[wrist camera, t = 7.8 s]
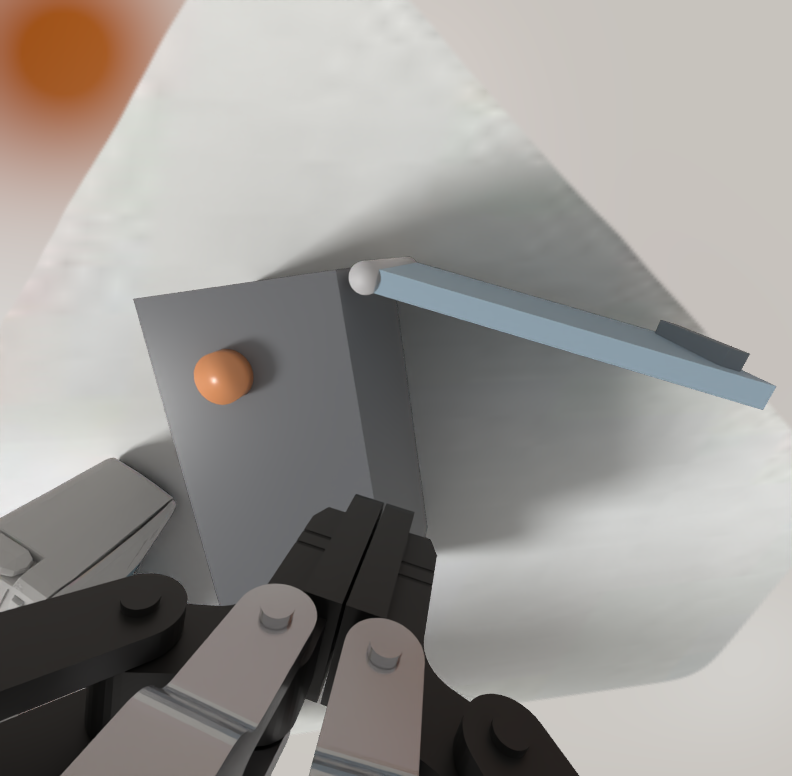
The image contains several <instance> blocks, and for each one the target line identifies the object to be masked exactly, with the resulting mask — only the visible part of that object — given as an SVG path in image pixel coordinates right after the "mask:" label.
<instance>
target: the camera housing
mask: <svg viewBox="0 0 792 776" xmlns="http://www.w3.org/2000/svg"><path fill="white" fill-rule="evenodd" d="M350 270H351V268H345V269H337V270H330V271H323V272H316V273H310V274H303V275H296V276H289V277H282V278H275V279H268V280H261V281H254V282H247V283H240V284H233V285H226V286H219V287H212V288H205V289H199V290H192V291H185V292H178V293H171V294H164V295H157V296H150V297H143V298H136V299H133V300H134V303H135V307H136V310H137V314H138V317H139V321H140V325H141V328H142V332H143V335H144V339H145V342H146V346H147V349H148V353H149V357H150V360H151V364H152V367H153V371H154V374H155V378H156V381H157V385H158V388H159V392H160V396H161V399H162V403H163V406H164V410H165V413H166V417H167V420H168V424H169V428H170V431H171V435H172V438H173V442H174V445H175V449H176V452H177V456H178V459H179V463H180V467H181V470H182V474H183V477H184V481H185V484H186V488H187V491H188V495H189V499H190V502H191V506H192V509H193V513H194V516H195V520H196V523H197V527H198V531H199V534H200V538H201V541H202V545H203V548H204V552H205V555H206V559H207V562H208V566H209V570H210V573H211V577H212V580H213V584H214V587H215V591H216V594H217V598H218V602H219V605H220V606H227V605H234V604H237V602H238V601H239V600H240V599H241V598H242V597H243V596H244V595H245V594H246V593H247V592H249V591H250V590H252V589H254V588H256V587H259V586H262V585H267V584H268V583H269V581H270V580H271V578H272V577H273V575H274V574H275V572H276V571H277V569H278V568H279V566H280V565H281V563H282V562H283V560H284V559H285V557H286V556H287V554H288V553H289V551H290V550H291V548H292V547H293V545H294V544H295V543H296V542H297V539H298V538H299V536H300V535H301V533H302V532H303V531H304V529H305V527H306V526H307V524H308V523H309V521H310V520H311V518H312V517H313V515H315V514H317V513H319V512H321V511H322V510H324V509H326V508H328V507H331V508H334V509H337V510H340V511H343V512H346V511H347V509H348V507H349V505H350V503H351V501H352V500H353V498H354V496H355V494H359V495H362V496H365V497H368V498H371V499H374V500H378V501H381V502H384V507H383V510H384V508H385V506H386V503H388V504H391V505H394V506H397V507H400V508H403V509H407V510H410V511H413V512H415V513H414V517H413V521H412V524H411V528H410V532H409V533H412V534H415V535H418V536H421V537H425V535H426V531H427V521H426V514H425V507H424V499H423V492H422V485H421V477H420V470H419V463H418V455H417V448H416V441H415V433H414V426H413V419H412V411H411V404H410V397H409V389H408V382H407V375H406V367H405V360H404V353H403V345H402V338H401V331H400V323H399V316H398V309H397V301H396V300H395V299H391V298H388V297H385V296H381V295H378V294H375V293H372V294H369V295H361V294H359V293H357V292H355V291H354V290H353V289H352V287H351V285H350V283H349V272H350ZM382 513H383V511H382ZM381 516H382V515H381Z"/></svg>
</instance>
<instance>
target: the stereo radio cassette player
mask: <svg viewBox="0 0 792 776" xmlns="http://www.w3.org/2000/svg"><path fill="white" fill-rule="evenodd" d="M175 507H176V503H175V501H174V500H173V497H172V496H170V495H169V494H168V493H166V492H165V491H164V490H162V489H161V488H160V487H158V486H157V485H156V484H155V483H153V482H152V481H150V480H149V479H147V478H146V477H144V476H143V475H142V474H140V473H139V472H137V471H135V470H134V469H132V468H130V467H129V466H127V465H126V464H124V463H123V462H121V461H120V460H118V459H116V458H110V459H107V460H105V461H103V462H101V463H99V464H97V465H95V466H94V467H92V468H90V469H88V470H86V471H85V472H83V473H81V474H79V475H77V476H76V477H74V478H72V479H70V480H68V481H67V482H65V483H63V484H61V485H59V486H58V487H56V488H54V489H52V490H51V491H49V492H47V493H45V494H43V495H41V496H40V497H38V498H36V499H34V500H32V501H30V502H29V503H27V504H25V505H23V506H21V507H20V508H18V509H16V510H14V511H12V512H10V513H9V514H7V515H5V516H3V517H1V518H0V612H2V611H6V610H10V609H13V608H17V607H20V606H24V605H28V604H31V603H35V602H38V601H42V600H46V599H49V598H53V597H56V596H60V595H64V594H67V593H71V592H75V591H78V590H82V589H85V588H89V587H93V586H96V585H100V584H103V583H107V582H111V581H114V580H118V579H121V578H125V577H129V576H132V575H133V573H134V572H135V570H136V569H137V567H138V566H139V564H140V562H141V561H142V559H143V558H144V556H145V555H146V553H147V552H148V550H149V549H150V547H151V546H152V544H153V543H154V541H155V540H156V538H157V537H158V535H159V534H160V532H161V531H162V529H163V528H164V526H165V525H166V523H167V521H168V520H169V518H170V517H171V515H172V513H173V512H174V509H175ZM17 715H19V714H17ZM17 715H15V716H12V717H10V718H7V719H5V720H2V721H0V723H1V722H3V721H6V720H8V719H11V718H13V717H16V716H17Z"/></svg>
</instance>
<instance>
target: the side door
mask: <svg viewBox="0 0 792 776" xmlns="http://www.w3.org/2000/svg"><path fill="white" fill-rule="evenodd" d="M349 283H350V285H351V287H352V289H353V290H354V291H355V292H357V293H359V294H361V295H369V294H372V293H375V294H378V295H381V296H385V297H388V298H391V299H395V300H398V301H401V302H405V303H408V304H411V305H415V306H418V307H421V308H425V309H428V310H431V311H435V312H438V313H441V314H445V315H448V316H451V317H455V318H458V319H461V320H465V321H468V322H471V323H475V324H478V325H481V326H485V327H488V328H491V329H495V330H498V331H501V332H505V333H508V334H511V335H515V336H518V337H521V338H525V339H528V340H531V341H535V342H538V343H541V344H545V345H548V346H551V347H555V348H558V349H561V350H565V351H568V352H571V353H575V354H578V355H581V356H585V357H588V358H591V359H595V360H598V361H601V362H605V363H608V364H611V365H615V366H618V367H621V368H625V369H628V370H631V371H635V372H638V373H641V374H645V375H648V376H651V377H655V378H658V379H661V380H665V381H668V382H671V383H675V384H678V385H681V386H685V387H688V388H691V389H695V390H698V391H701V392H705V393H708V394H711V395H715V396H718V397H721V398H725V399H728V400H731V401H735V402H738V403H741V404H745V405H748V406H751V407H755V408H758V409H761V410H763V409H764V407H765V405H766V404H767V402H768V400H769V398H770V397H771V395H772V393H773V391H774V390H775V388H776V386H774V385H772V384H770V383H768V382H766V381H764V380H762V379H759V378H757V377H755V376H753V375H751V374H749V373H747V372H745V371H743V370H741V369H742V368H743V366H744V364H745V362H746V360H747V358H748V356H749V353H746V352H744V351H741V350H739V349H737V348H734V347H732V346H729V345H726V344H724V343H721V342H719V341H716V340H714V339H711V338H709V337H706V336H704V335H701V334H699V333H696V332H694V331H691V330H689V329H686V328H684V327H681V326H679V325H676V324H673V323H670V322H666V321H663V320H661V321H660V323H659V325H658V327H657V330H656V332H655V331H651V330H648V329H644V328H641V327H638V326H634V325H631V324H627V323H624V322H620V321H617V320H614V319H610V318H607V317H603V316H600V315H596V314H593V313H589V312H586V311H583V310H579V309H576V308H572V307H569V306H565V305H562V304H558V303H555V302H552V301H548V300H545V299H541V298H538V297H534V296H531V295H527V294H524V293H521V292H517V291H514V290H510V289H507V288H503V287H500V286H496V285H493V284H490V283H486V282H483V281H479V280H476V279H472V278H469V277H465V276H462V275H459V274H455V273H452V272H448V271H445V270H441V269H438V268H434V267H431V266H428V265H424V264H421V263H417V262H416V261H415V259H413V258H411V257H398V258H387V259H377V260H366V261H360V262H357V263H356V264H354V265H353V266H352V268H351V270H350V272H349Z"/></svg>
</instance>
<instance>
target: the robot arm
mask: <svg viewBox="0 0 792 776" xmlns="http://www.w3.org/2000/svg"><path fill="white" fill-rule="evenodd" d="M383 507H384V502H381V501H378V500H374V499H371V498H368V497H365V496H362V495H359V494H355V496H354V498H353V500H352V501H351V503H350V505H349V507H348V509H347V511H346V512H343V511H340V510H337V509H334V508H331V507H328V508H326V509H324V510H322V511H321V512H319V513H317V514H315V515H313V517H312V518H311V520H310V521H309V523H308V524H307V526H306V527H305V529H304V531H303V532H302V533H301V535H300V536H299V538H298V539H297V542H296V543H295V544H294V545H293V547H292V548H291V550H290V551H289V553H288V554H287V556H286V557H285V559H284V560H283V562H282V563H281V565H280V566H279V568H278V569H277V571H276V572H275V574H274V575H273V577H272V578H271V580H270V581H269V583H268V584H267V585H262V586H259V587H256V588H254V589H252V590H250V591H249V592H247V593H246V594H245V595H244V596H243V597H242V598H241V599H240V600H239V601H238V602H237V604H234V605H227V606H210V605H194V604H187V594H186V591H185V589H184V588H183V586H182V585H181V584H180V583H179V582H178V581H176V580H174V579H173V578H170V577H168V576H164V575H160V574H138V575H133V576H129V577H125V578H121V579H118V580H114V581H111V582H107V583H103V584H100V585H96V586H93V587H89V588H85V589H82V590H78V591H75V592H71V593H67V594H64V595H60V596H56V597H53V598H49V599H46V600H42V601H38V602H35V603H31V604H28V605H24V606H20V607H17V608H13V609H10V610H6V611H2V612H0V721H2V720H5V719H7V718H10V717H12V716H15V715H17V714H20V713H22V712H25V711H27V710H30V709H32V708H35V707H37V706H40V705H42V704H45V703H47V702H50V701H52V700H55V699H57V698H60V697H62V696H65V695H67V694H70V693H72V692H75V691H77V690H80V689H82V688H85V687H86V688H85V689H83V690H80V691H78V692H75V693H73V694H70V695H68V696H65V697H63V698H60V699H58V700H55V701H53V702H50V703H48V704H45V705H43V706H41V707H38V708H36V709H33V710H31V711H28V712H26V713H23V714H21V715H18V716H16V717H13V718H11V719H8V720H6V721H3V722H1V723H0V776H271V773H272V771H273V769H274V767H275V765H276V763H277V761H278V759H279V757H280V755H281V753H282V751H283V749H284V747H285V745H286V743H287V740H288V738H289V734H290V730H291V728H292V727H293V725H294V723H295V721H296V719H297V717H298V714H299V712H300V709H301V707H302V705H303V702H304V700H305V699H308V700H311V701H313V702H316V703H317V701H318V699H319V696H320V693H321V691H322V688H323V685H324V683H325V680H326V677H327V680H326V684H325V688H324V692H323V696H322V700H321V703H320V704H322V705H325V706H327V709H326V713H325V717H324V720H323V724H322V728H321V732H320V735H319V740H318V743H317V747H316V750H315V754H314V758H313V762H312V766H311V769H310V774H309V776H579V775H578V773H577V772H576V771H575V769H574V768H573V767H572V765H571V764H570V763H569V761H568V760H567V758H566V757H565V756H564V754H563V753H562V752H561V750H560V749H559V748H558V746H557V745H556V743H555V742H554V741H553V739H552V738H551V737H550V735H549V734H548V733H547V731H546V730H545V728H544V727H543V726H542V724H541V723H540V722H539V721H538V719H537V718H536V717H535V716H534V715H533V714H532V713H531V712H530V711H529V710H528V709H526V708H525V707H524V706H523V705H521V704H520V703H518V702H516V701H515V700H513V699H510V698H508V697H505V696H502V695H498V694H484V695H480V696H478V697H476V698H474V699H473V700H472V701H471V702H469V701H468V700H466V699H465V698H464V697H462V696H461V695H459V694H458V693H456V692H455V691H454V690H452V689H451V688H450V687H448V686H447V685H446V684H445V683H443V682H442V681H441V680H440V679H439V678H438V676H437V675H436V674H435V673H434V671H433V670H432V668H431V667H430V665H429V663H428V661H427V658H426V655H425V652H424V635H425V628H426V622H427V615H428V609H429V603H430V596H431V590H432V583H433V577H434V570H435V564H436V557H437V555H436V552H435V550H434V547H433V545H432V542H431V540H430V539H428V538H425V537H421V536H418V535H415V534H412V533H409V532H410V528H411V524H412V521H413V517H414V513H415V512H413V511H410V510H407V509H403V508H400V507H397V506H394V505H391V504H388V503H386V506H385V508H384V510H383ZM382 511H383V513H382ZM381 515H382V516H381ZM328 672H329V673H328ZM327 675H328V676H327Z"/></svg>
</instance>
